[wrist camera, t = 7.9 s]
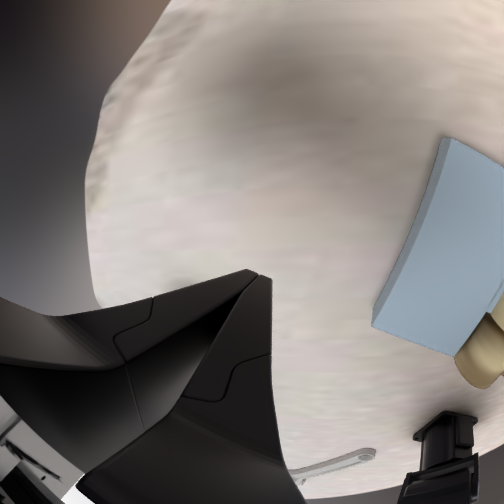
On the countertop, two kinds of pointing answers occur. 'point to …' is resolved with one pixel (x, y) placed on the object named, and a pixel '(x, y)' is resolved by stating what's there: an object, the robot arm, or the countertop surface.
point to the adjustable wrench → (333, 465)
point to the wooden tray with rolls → (482, 354)
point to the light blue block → (449, 255)
